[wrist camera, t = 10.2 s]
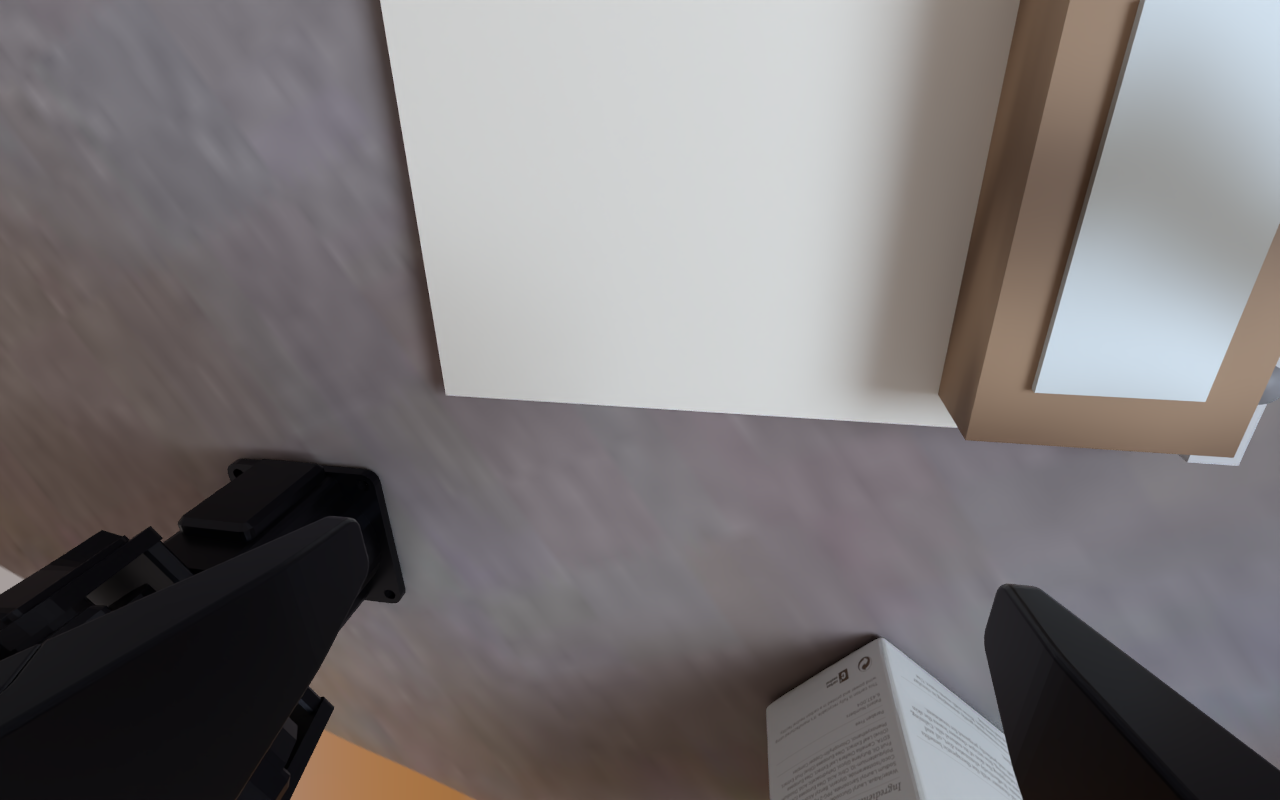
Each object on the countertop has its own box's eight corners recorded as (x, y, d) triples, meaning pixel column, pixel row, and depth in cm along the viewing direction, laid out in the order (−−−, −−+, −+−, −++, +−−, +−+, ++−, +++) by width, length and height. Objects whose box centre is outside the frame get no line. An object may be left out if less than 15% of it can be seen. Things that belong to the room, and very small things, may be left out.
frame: (1166, 407, 17) (1239, 462, 15) (937, 394, 18) (967, 443, 16) (1353, -78, 13) (1512, -127, 10) (1032, -60, 14) (1098, -100, 11)
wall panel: (1223, 432, 18) (1286, 478, 16) (456, 385, 22) (421, 417, 20) (1470, -133, 13) (1622, -183, 10) (385, -59, 17) (327, -84, 14)
